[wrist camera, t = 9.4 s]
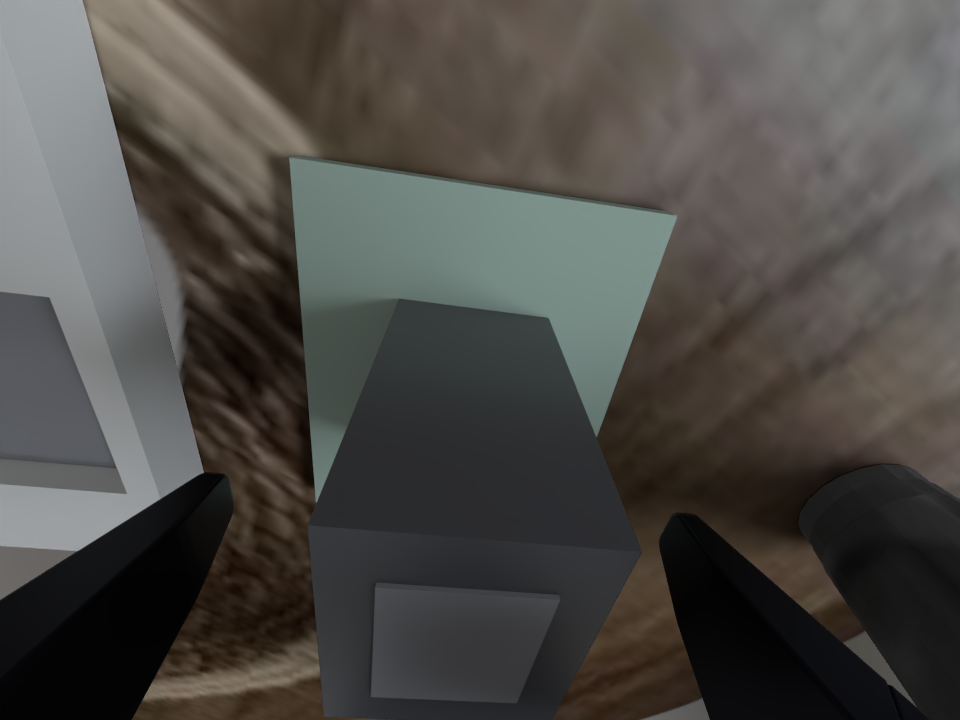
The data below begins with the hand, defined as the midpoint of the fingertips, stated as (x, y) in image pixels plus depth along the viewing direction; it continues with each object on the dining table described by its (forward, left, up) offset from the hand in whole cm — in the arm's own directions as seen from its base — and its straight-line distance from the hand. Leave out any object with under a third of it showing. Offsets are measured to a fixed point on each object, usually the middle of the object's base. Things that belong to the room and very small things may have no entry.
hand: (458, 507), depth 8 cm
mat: (0, 0, -5) cm, 5 cm away
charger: (0, 0, -4) cm, 4 cm away
